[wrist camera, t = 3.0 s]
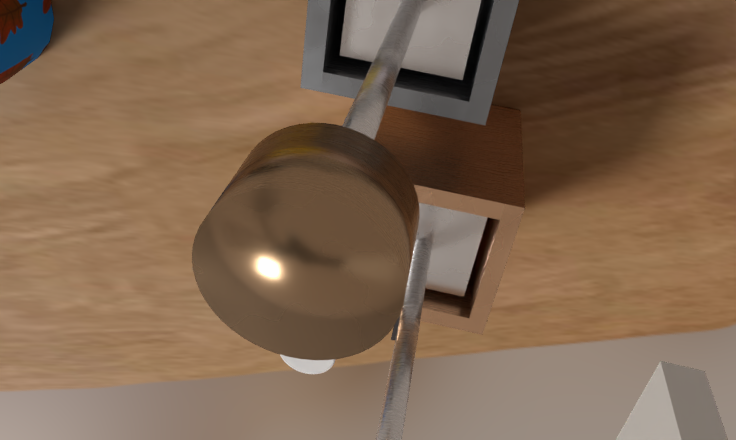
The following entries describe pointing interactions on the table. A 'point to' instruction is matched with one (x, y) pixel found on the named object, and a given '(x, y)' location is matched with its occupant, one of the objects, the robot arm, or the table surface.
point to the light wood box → (464, 195)
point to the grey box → (411, 86)
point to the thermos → (23, 33)
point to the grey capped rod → (428, 270)
